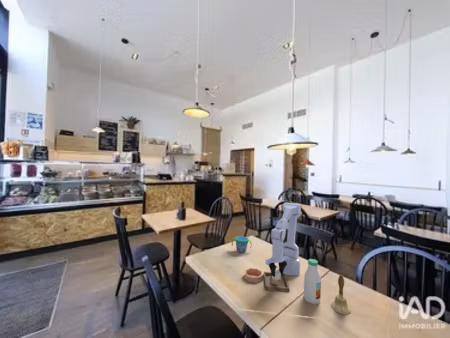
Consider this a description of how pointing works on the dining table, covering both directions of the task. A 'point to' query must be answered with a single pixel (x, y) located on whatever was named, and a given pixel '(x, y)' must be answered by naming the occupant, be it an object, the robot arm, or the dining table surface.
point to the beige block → (274, 281)
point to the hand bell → (340, 299)
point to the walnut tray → (280, 287)
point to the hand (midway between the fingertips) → (277, 275)
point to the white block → (277, 275)
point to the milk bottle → (312, 283)
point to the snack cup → (241, 243)
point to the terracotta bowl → (253, 275)
